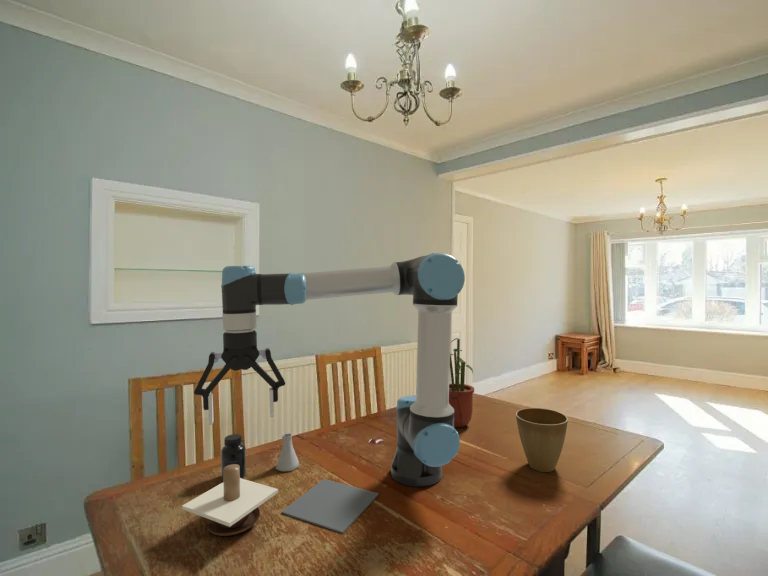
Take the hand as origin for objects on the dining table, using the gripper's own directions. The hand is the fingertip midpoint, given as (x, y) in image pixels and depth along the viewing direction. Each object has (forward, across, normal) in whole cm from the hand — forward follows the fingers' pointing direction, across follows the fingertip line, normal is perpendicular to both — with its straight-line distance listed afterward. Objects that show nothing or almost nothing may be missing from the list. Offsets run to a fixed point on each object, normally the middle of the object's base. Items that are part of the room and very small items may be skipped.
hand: (242, 419), depth 94 cm
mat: (+25, -21, 0) cm, 33 cm away
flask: (+25, -12, -25) cm, 38 cm away
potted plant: (+26, -80, -41) cm, 93 cm away
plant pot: (+26, -86, +2) cm, 90 cm away
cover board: (+19, +3, 0) cm, 19 cm away
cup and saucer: (+25, +3, 0) cm, 25 cm away
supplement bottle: (+25, +3, -24) cm, 35 cm away
